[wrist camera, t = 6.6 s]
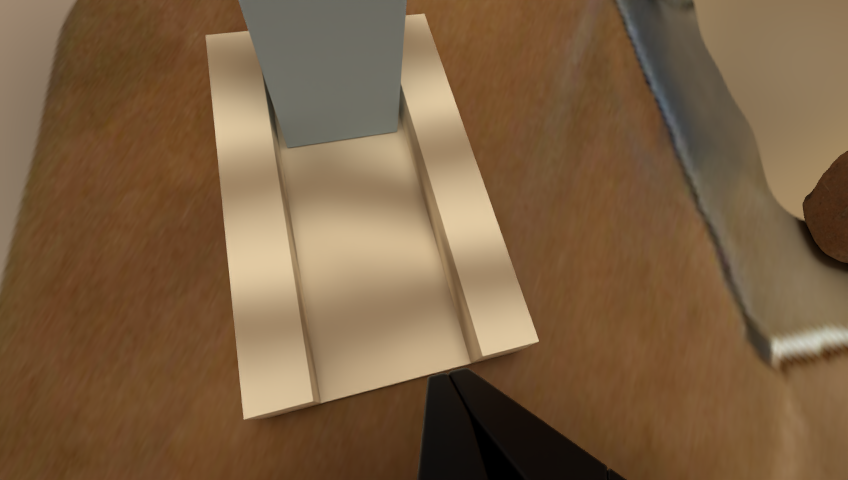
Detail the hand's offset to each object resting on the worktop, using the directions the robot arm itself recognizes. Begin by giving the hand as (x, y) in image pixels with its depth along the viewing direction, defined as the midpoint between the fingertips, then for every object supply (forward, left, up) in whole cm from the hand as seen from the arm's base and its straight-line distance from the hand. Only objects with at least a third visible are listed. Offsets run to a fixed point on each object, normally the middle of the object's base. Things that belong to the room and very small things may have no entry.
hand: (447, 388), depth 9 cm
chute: (+9, +6, -11) cm, 15 cm away
